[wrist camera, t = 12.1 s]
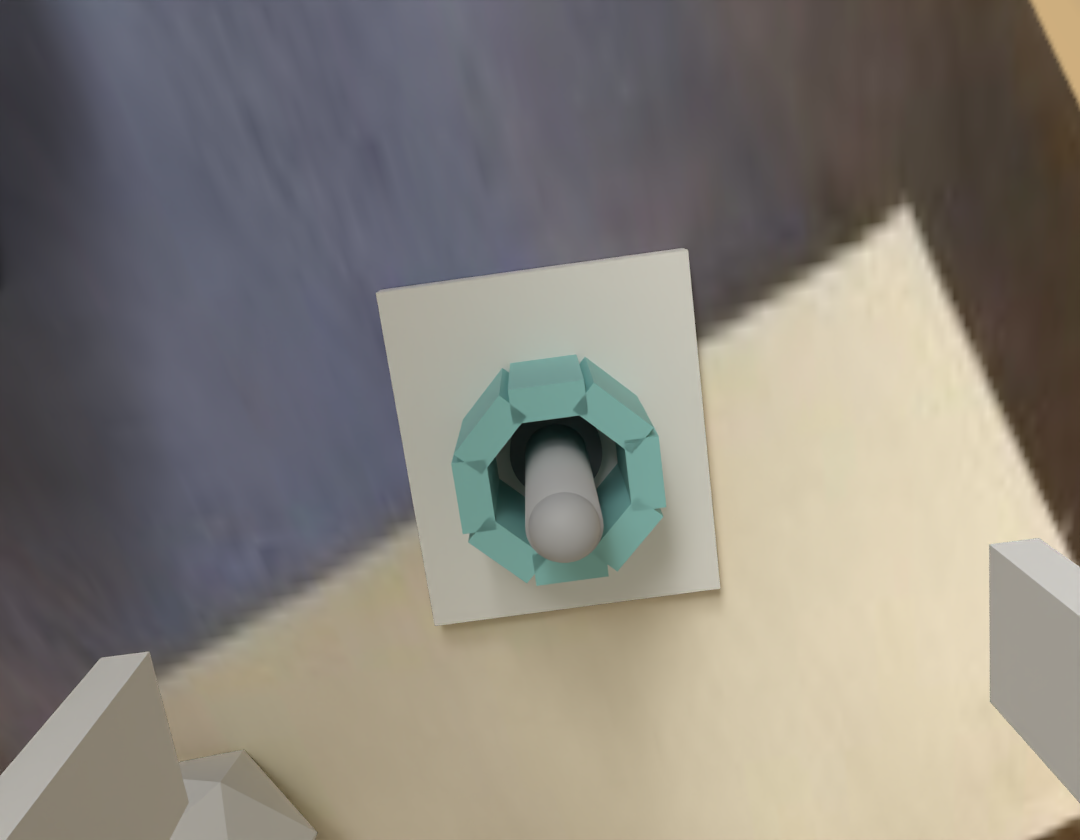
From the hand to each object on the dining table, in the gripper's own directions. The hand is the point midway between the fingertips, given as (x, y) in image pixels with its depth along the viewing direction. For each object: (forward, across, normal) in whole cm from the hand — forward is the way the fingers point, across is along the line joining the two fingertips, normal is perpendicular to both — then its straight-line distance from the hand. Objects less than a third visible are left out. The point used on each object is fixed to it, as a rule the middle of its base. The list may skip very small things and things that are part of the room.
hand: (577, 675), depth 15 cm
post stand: (+24, 0, -3) cm, 24 cm away
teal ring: (+23, 0, -3) cm, 23 cm away
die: (+24, -17, -18) cm, 35 cm away
